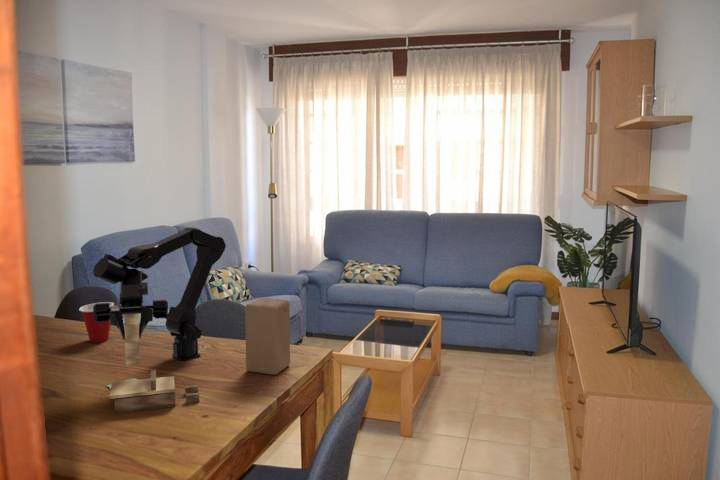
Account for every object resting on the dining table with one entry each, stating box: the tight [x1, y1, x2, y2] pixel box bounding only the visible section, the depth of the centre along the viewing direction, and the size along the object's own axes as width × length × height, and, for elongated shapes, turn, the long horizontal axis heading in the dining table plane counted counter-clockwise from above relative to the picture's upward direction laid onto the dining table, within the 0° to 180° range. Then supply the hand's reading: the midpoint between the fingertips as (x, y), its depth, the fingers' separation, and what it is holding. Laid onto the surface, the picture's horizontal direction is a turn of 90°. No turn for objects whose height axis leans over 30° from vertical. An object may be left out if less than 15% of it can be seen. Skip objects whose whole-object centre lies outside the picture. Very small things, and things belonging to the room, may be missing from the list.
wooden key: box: [123, 313, 141, 366], centre depth 162 cm, size 4×4×13 cm
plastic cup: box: [78, 301, 115, 343], centre depth 204 cm, size 11×11×12 cm
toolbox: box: [113, 384, 200, 414], centre depth 154 cm, size 20×9×4 cm, turn 108°
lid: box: [109, 369, 176, 400], centre depth 153 cm, size 15×9×3 cm, turn 108°
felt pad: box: [106, 377, 139, 390], centre depth 164 cm, size 8×8×1 cm
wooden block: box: [244, 297, 291, 376], centre depth 178 cm, size 10×10×20 cm
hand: (131, 338), depth 161 cm, fingers closed on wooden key, 3 cm apart
